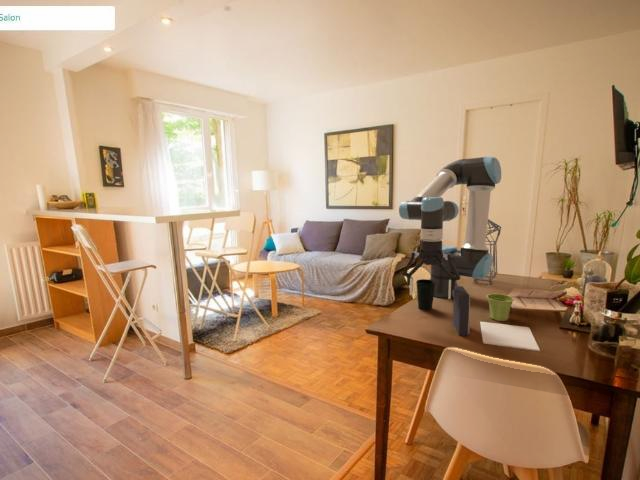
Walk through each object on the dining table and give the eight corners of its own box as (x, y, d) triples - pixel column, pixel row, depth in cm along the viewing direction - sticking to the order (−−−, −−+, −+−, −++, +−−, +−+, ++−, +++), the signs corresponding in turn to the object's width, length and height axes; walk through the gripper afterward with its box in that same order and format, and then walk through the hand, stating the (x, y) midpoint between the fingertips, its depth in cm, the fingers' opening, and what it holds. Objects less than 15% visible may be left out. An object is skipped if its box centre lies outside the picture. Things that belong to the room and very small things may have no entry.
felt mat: (480, 322, 125) (480, 321, 125) (528, 328, 119) (528, 327, 119) (483, 343, 109) (483, 341, 109) (539, 351, 103) (539, 349, 103)
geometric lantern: (497, 287, 168) (501, 219, 162) (464, 283, 176) (466, 218, 171) (499, 280, 181) (503, 216, 176) (468, 276, 189) (470, 216, 184)
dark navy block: (470, 336, 114) (472, 295, 112) (457, 335, 115) (458, 294, 113) (463, 323, 125) (464, 286, 123) (451, 323, 126) (452, 285, 123)
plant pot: (487, 321, 126) (488, 300, 125) (484, 312, 135) (485, 292, 134) (514, 324, 123) (516, 302, 122) (509, 315, 132) (511, 294, 130)
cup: (434, 306, 144) (435, 279, 142) (434, 312, 137) (435, 284, 135) (416, 304, 147) (416, 278, 145) (415, 310, 139) (415, 283, 138)
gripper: (394, 240, 121) (394, 295, 124) (469, 242, 111) (466, 302, 114) (398, 237, 128) (398, 289, 131) (468, 239, 118) (466, 296, 121)
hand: (429, 296), depth 122 cm, fingers open, 13 cm apart
